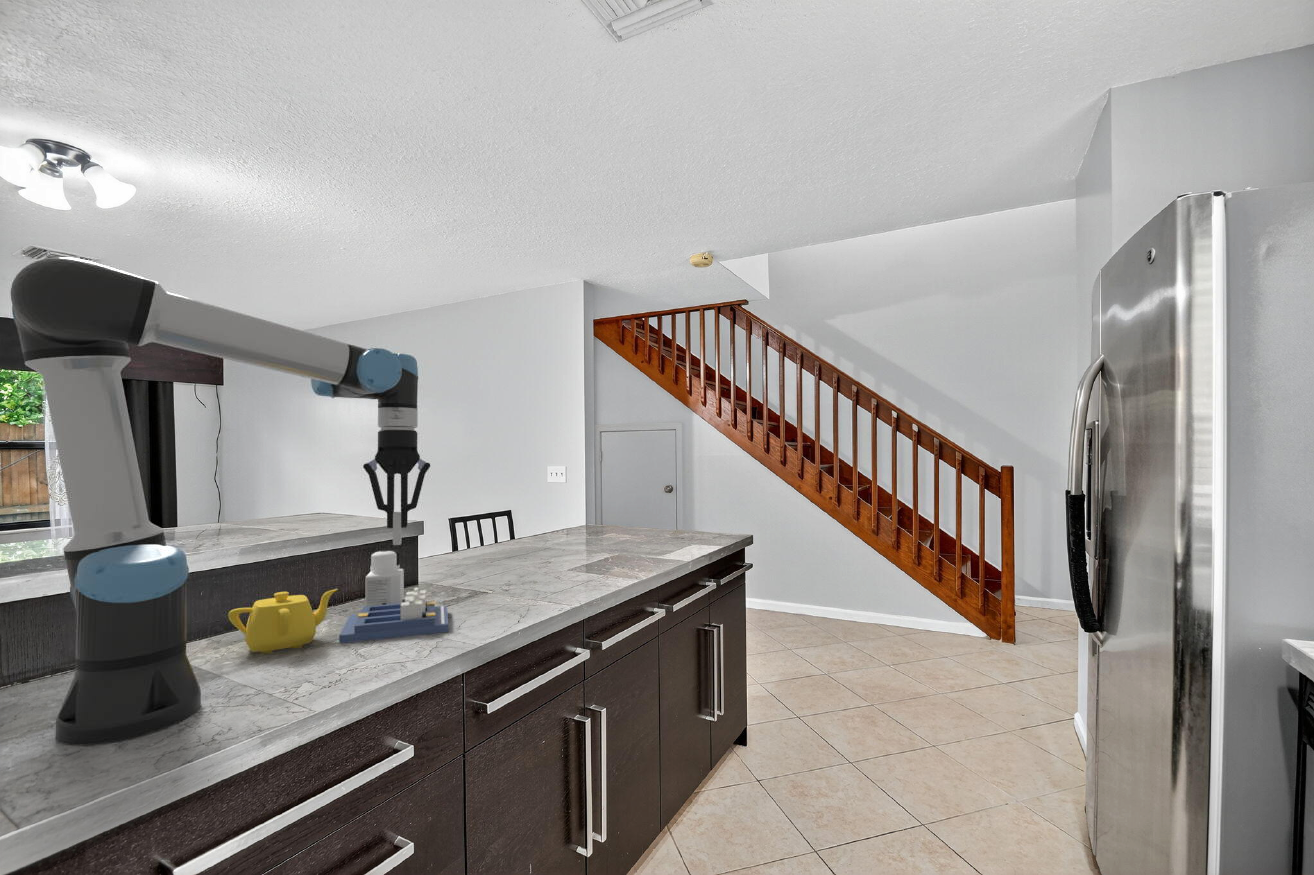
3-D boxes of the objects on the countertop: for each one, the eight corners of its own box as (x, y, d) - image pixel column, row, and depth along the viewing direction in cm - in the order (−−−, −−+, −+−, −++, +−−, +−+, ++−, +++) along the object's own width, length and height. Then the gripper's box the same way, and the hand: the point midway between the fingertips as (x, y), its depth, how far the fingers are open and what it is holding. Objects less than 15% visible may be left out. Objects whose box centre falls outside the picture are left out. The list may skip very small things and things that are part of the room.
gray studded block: (404, 618, 126) (405, 596, 126) (405, 615, 129) (405, 593, 129) (425, 616, 128) (425, 594, 128) (425, 613, 130) (425, 591, 130)
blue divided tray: (339, 643, 116) (339, 626, 116) (350, 621, 131) (350, 607, 131) (448, 631, 123) (448, 616, 123) (446, 612, 138) (446, 598, 138)
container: (370, 601, 149) (370, 549, 149) (403, 599, 151) (403, 547, 151) (365, 609, 141) (365, 554, 142) (400, 606, 144) (400, 552, 144)
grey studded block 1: (406, 613, 131) (406, 591, 131) (406, 609, 134) (406, 588, 134) (425, 611, 132) (425, 589, 132) (425, 608, 135) (425, 586, 135)
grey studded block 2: (400, 625, 121) (400, 601, 121) (401, 621, 124) (401, 598, 124) (421, 623, 123) (421, 599, 123) (422, 619, 125) (422, 596, 125)
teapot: (284, 633, 123) (284, 583, 123) (338, 636, 120) (338, 585, 121) (223, 655, 110) (223, 599, 110) (283, 660, 107) (283, 602, 107)
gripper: (360, 428, 118) (359, 548, 117) (431, 428, 122) (431, 544, 122) (364, 429, 125) (364, 543, 124) (431, 430, 129) (431, 539, 129)
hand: (397, 544), depth 123 cm, fingers closed
